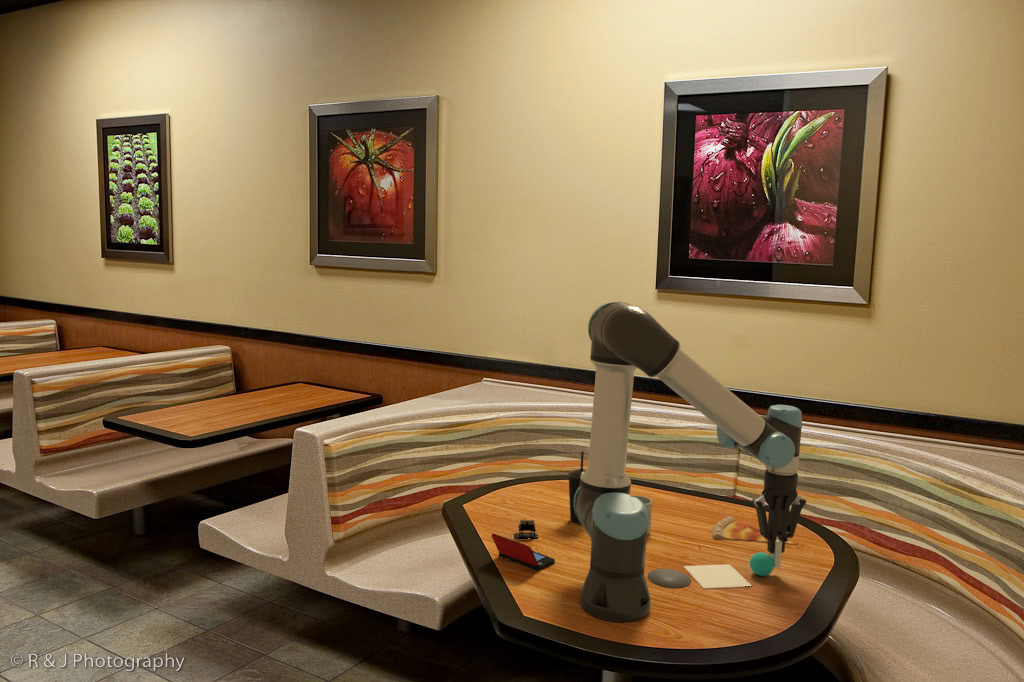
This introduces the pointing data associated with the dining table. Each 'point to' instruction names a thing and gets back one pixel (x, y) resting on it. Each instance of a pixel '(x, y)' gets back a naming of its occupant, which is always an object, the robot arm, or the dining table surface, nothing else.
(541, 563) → the handheld game console
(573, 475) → the drinking cup
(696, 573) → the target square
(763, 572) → the ball
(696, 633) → the dining table surface
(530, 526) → the black boxy piece
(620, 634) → the dining table surface
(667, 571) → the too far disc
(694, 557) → the dining table surface
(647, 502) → the cup
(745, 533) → the pizza slice
